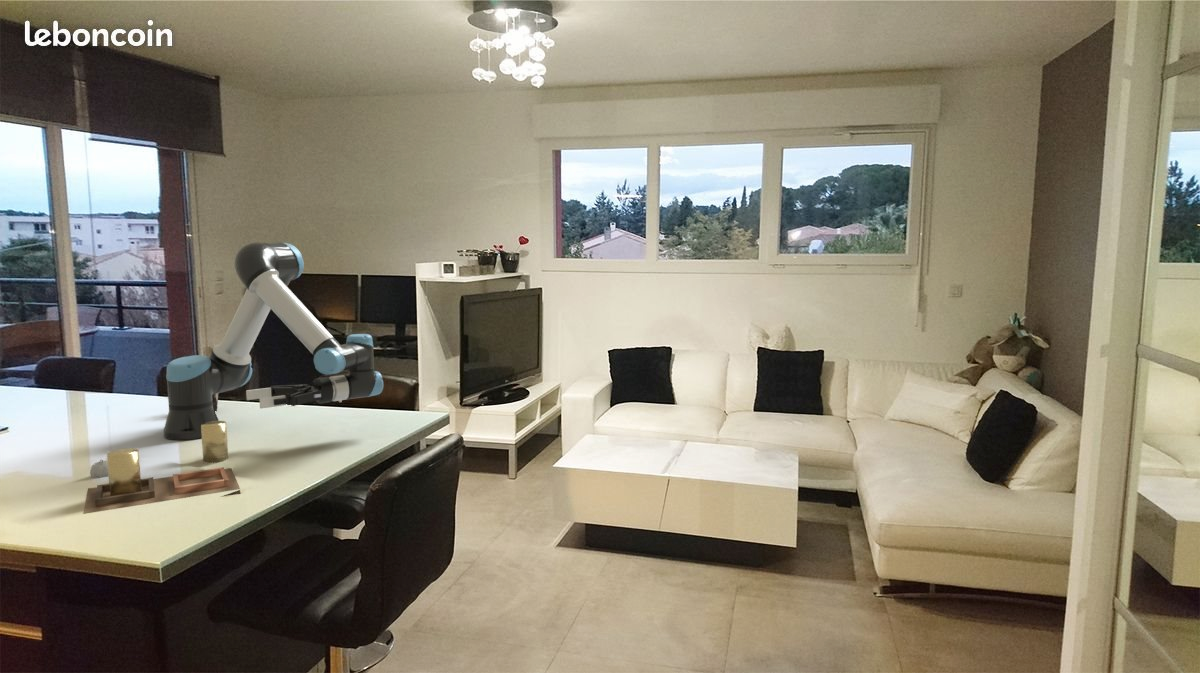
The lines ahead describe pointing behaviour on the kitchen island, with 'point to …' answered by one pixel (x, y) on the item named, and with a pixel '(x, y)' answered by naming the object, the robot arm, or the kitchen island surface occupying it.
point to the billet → (124, 471)
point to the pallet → (164, 489)
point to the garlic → (99, 469)
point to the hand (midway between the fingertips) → (253, 399)
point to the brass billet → (214, 441)
